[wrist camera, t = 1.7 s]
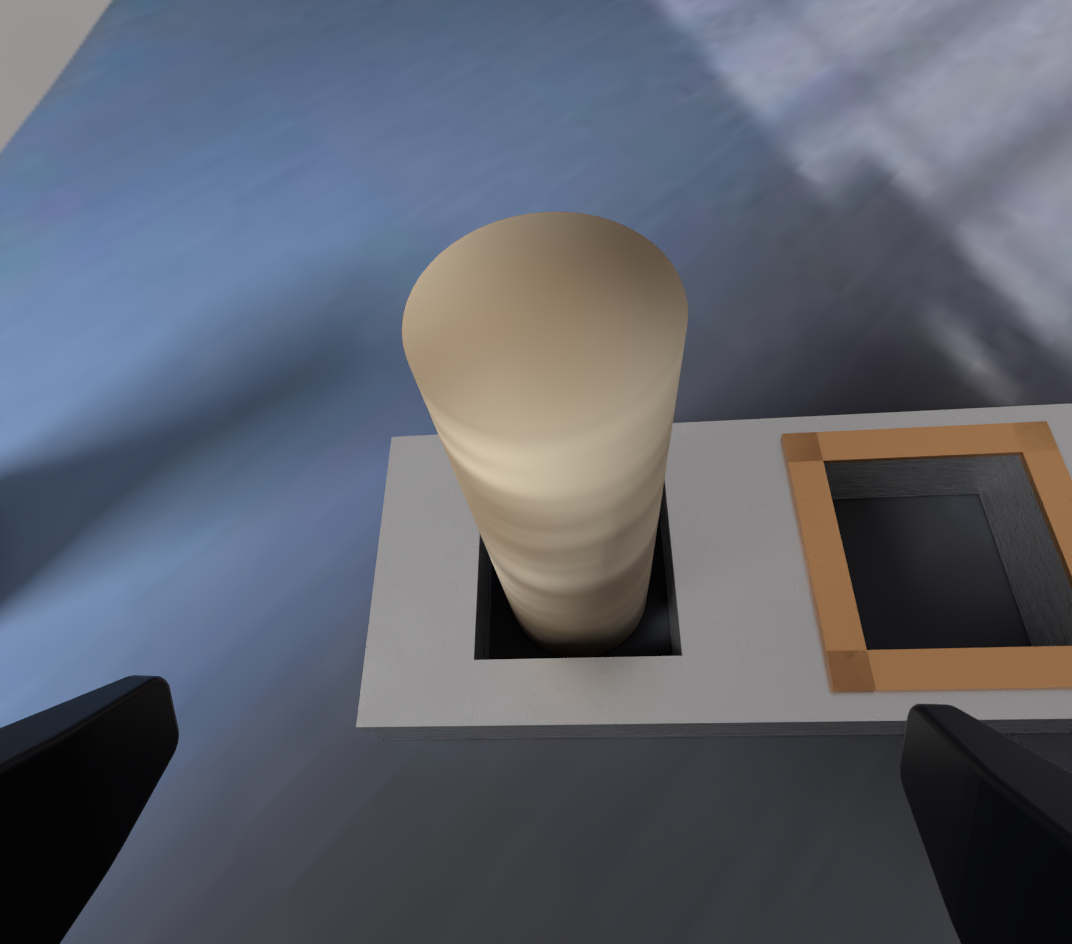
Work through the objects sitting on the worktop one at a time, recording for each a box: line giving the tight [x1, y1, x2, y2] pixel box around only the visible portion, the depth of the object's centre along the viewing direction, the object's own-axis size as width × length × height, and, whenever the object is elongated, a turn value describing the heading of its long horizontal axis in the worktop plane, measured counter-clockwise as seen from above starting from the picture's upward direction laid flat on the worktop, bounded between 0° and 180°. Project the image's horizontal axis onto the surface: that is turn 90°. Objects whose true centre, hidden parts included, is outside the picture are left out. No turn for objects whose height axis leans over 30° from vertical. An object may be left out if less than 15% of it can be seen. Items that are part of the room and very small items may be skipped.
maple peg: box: [402, 212, 688, 658], centre depth 16 cm, size 4×4×13 cm
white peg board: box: [356, 404, 1072, 740], centre depth 20 cm, size 22×9×3 cm, turn 90°
